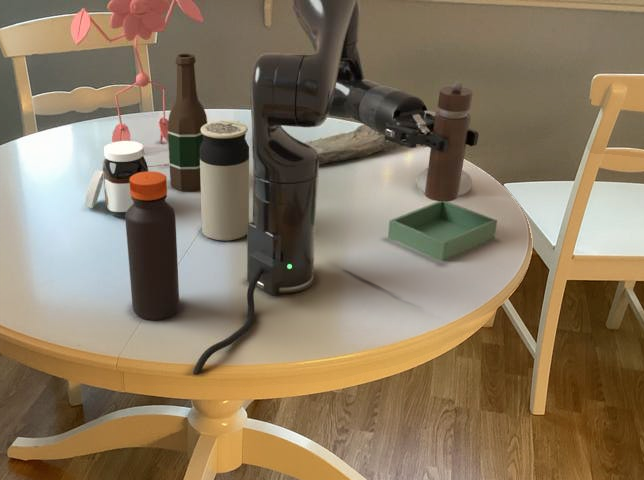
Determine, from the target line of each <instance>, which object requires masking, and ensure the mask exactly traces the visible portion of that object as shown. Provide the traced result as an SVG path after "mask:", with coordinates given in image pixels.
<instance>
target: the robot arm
mask: <svg viewBox="0 0 644 480" xmlns="http://www.w3.org/2000/svg"><path fill="white" fill-rule="evenodd" d="M291 4H292V9H293V12H294V14H295V17H296V20H297V21H298V24H299V25H300V26H301V28H302V29H303V31H304V33H305V34H306V36H307V37H308V39H309V41H310V42H311V45H312V47H313V49H314V50H313V51H314V53H313V54H300V53H299V54H297V53H280V52H265V53H262V54H260V55H259V56H258V57H257V58H256V60H255V62H254V64H253V67H252V70H251V77H250V88H249V89H250V112H251V113H250V114H251V136H252V137H251V138H252V139H251V143H252V147H251V148H252V149H251V151H252V164H253V165H252V222H249V224H248V226H247V234H246V235H247V236H246V237H247V238H246V239H247V240H246V241H247V242H246V248H247V249H246V251H247V252H246V256H247V257H246V258H247V259H246V268H247V269H246V281H247V282H249V284H248V287H247V293H246V301H247V303H246V304H247V319H246V321H245V323H244V324H243V325H242V327H240V328H238V330H236V331H235V332H233V334H231V335H230V336H228V337H227V338H225V339H223V340H220V341H219V342H217V343H214V344H213V345H211V346H209V347H208V348H207V349H205V351H204V352H203V353H202V354H201V356H200V357H199V358H198V360H197V362H196V363H195V366H194V368H193V371H192V375H194V376H199V375H200V374H201V373H202V370H203V368H204V366H205V364H206V362H207V361H208V359H210V357H211V356H212V355H214V354H215V353H217V352H218V351H220V350H222V349H225V348H227V347H228V346H230V345H232V344H234V343H235V342H237V340H239V339H240V338H241V337H243V336H244V335H245V334H246V333H247V332H248V331H249V330H250V329H251V327H252V326H253V323H254V322H255V297H254V295H255V289H256V287H257V288H258V289H260V290H262V291H264V292H266V293H268V294H269V295H271V296H276V295H279V294H293V293H297V292H301V291H305V290H306V289H308V288H309V287H311V286H312V284H313V283H314V277H315V273H314V266H315V265H314V264H315V263H314V262H315V245H316V244H315V241H316V224H317V208H318V207H317V206H318V204H317V203H318V189H319V187H318V186H319V172H320V171H319V170H320V169H319V167H320V164H319V157H318V153H317V152H316V151H315V149H313V148H312V147H311V146H309V145H307V144H305V143H306V142H302V141H301V140H299V139H297V138H295V137H293V136H292V135H290V134H289V133H288V132H287V131H286V130H285V129H284V128H283V126H284V127H292V128H293V127H296V128H297V127H298V128H316V127H317V128H318V127H321V126H322V125H323V124H324V123H325V121H326V120H327V119H328V117H329V116H330V117H335V118H341V119H352V120H354V121H356V122H358V123H360V124H361V125H364V124H365V125H366V126H368V127H369V128H371V129H372V130H374V131H376V132H378V133H380V134H382V135H384V136H385V140H388V141H391V142H394V143H397V144H400V145H403V146H404V147H407V148H409V149H415V148H416V147H417V145H418V146H420V147H421V148H429V149H431V148H432V149H434V150H436V151H438V152H441V153H444V152H447V149H448V142H449V141H448V138H446V137H444V136H441V135H439V134H437V133H434V132H433V128H434V121H435V114H436V111H432V110H428V108H427V106H426V104H425V102H424V101H423V100H422V98H420V97H418V96H415V95H413V94H410V93H408V92H405V91H402V90H400V89H398V88H396V87H393V86H387V85H383V84H380V83H378V82H375V81H373V80H370V79H365V74H364V69H363V65H362V59H361V54H360V48H359V40H360V39H359V38H360V23H361V8H360V3H359V0H291ZM470 123H471V122H470ZM470 123H469V125H470ZM478 141H479V132H478V131H476V130H475V129H472V128H469V130H468V136H467V142H466V146H470V147H475V146H477V145H478ZM403 146H402V147H403Z"/></svg>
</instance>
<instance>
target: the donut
mask: <svg viewBox="0 0 644 480" xmlns="http://www.w3.org/2000/svg"><path fill="white" fill-rule="evenodd" d="M427 173H428V167H427V168H424V169H423V170H421V171H420V172H419V173H418V175H417V176H416V180H415V183H416V186H417V188H418V190H419V191H421V192H422V193H424V194H425V188H426V180H427ZM472 185H473V179H472V177H471V176H470V174H469V173H468V172H467V171H465V170H463V169H462V174H461V180H460V187H459V193H458V197H461V196H463V195H465V194H467V193H469V191H470V190H471V188H472Z"/></svg>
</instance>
